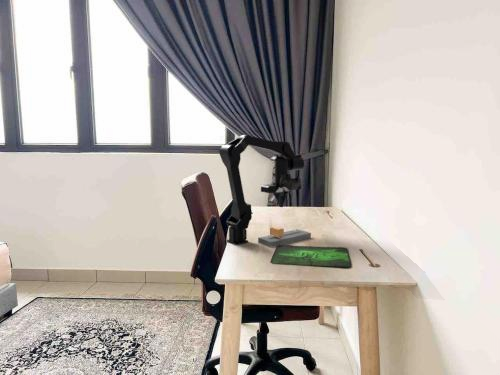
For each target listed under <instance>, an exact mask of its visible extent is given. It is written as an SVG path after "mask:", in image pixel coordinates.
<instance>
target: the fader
mask: <svg viewBox="0 0 500 375" xmlns="http://www.w3.org/2000/svg"><path fill="white" fill-rule="evenodd" d="M284 229H285V228H283V227H279V226H276V225H274V226H271V227H269V235H273V236H276V237H281V236H284V232H285V230H284Z"/></svg>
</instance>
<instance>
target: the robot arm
mask: <svg viewBox="0 0 500 375" xmlns="http://www.w3.org/2000/svg"><path fill="white" fill-rule="evenodd" d="M249 146H250V147H253V148H258V149H263V150H266V151H268V152H270V153H272V154H274V155H273V156H272V157H271V158H270V161H271V162H272V161H273V162H274V172H273V173H272V176H274V182H272V184H261V187H260V192H261V193H264V194H265V193H266V194H273V196H274V198H275V199H276V202H277V204H278V206H279V207H280V208H283V207H284V204H285V202H286V199H287V197H288V195H289V194H290V193H292V191H293V190H296V191H298V190H302V182H301V178H300V177H299V176H298V177H295V178H292V176H291V173H289V171H301V170H303V169H304V167H305V162H304V159H303V157H302V154H295V152H294V150H293V149H292V146H291V143H290V141H289V142H288V141H281V140H279V141H278V140H277V141H276V140H275V141H274V140H273V141H272V140H268V139H264V138H260V137H256V136H252V135H250V134H240V135H239V136H238V137H237V138H236V139H234V140H231V141H229V142H228V143H227V144H223V145H222V146H221V147H220V149H219V151H218V152H219V156H220V158H221V159H220V160H221V161H222V163H223V164H224V166H225V169H226V172H227V177H228V183H229V188H230V193H231V199H232V205H231V208H230V211H231V214H230V215H229V217H228V218H227V219H226V221H225V224H226V226H228V239H227V240H226V242H227V243H230V244H233V245H240V244H241V245H242V244H246V243H249V240H248V239H247V235H248V234H247V232H248V231H247V229H248V227H249V225H250V221H251V220H252V218H253V216H252V215H254V213H253V211H252V205H251V204H250V203H247V202H246V200H245V195H244V190H243V188H244V187H243V184H242V179H241V178H242V177H241V172H240V162H241V154H242V153H244V152H245V151H246V150H247V147H249Z"/></svg>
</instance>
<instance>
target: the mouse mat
mask: <svg viewBox="0 0 500 375" xmlns="http://www.w3.org/2000/svg"><path fill="white" fill-rule="evenodd" d="M269 262H270V264H272V265H281V266H282V265H283V266H298V267H299V266H300V267H301V266H302V267H316V268H317V267H318V268H341V269H342V268H344V269H349V268H351V267H352V260H351V257H350V253H349V248H347V247H342V246H337V247H336V246H310V245H309V246H307V245H291V244H283V245H279V246H278V247H277V246H275V248H274V251H273V254H272V256H271V259H270V261H269Z"/></svg>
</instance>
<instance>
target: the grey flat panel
mask: <svg viewBox="0 0 500 375" xmlns="http://www.w3.org/2000/svg"><path fill="white" fill-rule="evenodd" d="M310 237H312V233H311V232H309V231H305V230H301V229H298V228H297V229H292V230H287V231H284V236H281V237H276V236H273V235H270V234H268V235H264V236H260V237H258V239H257V242H258V244H261V245H264V246H267V247H270V248H273V247H277V246H279V245H288V244H290V243H294V242H298V241H302V240H307V239H311V238H310ZM306 238H307V239H306Z"/></svg>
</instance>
